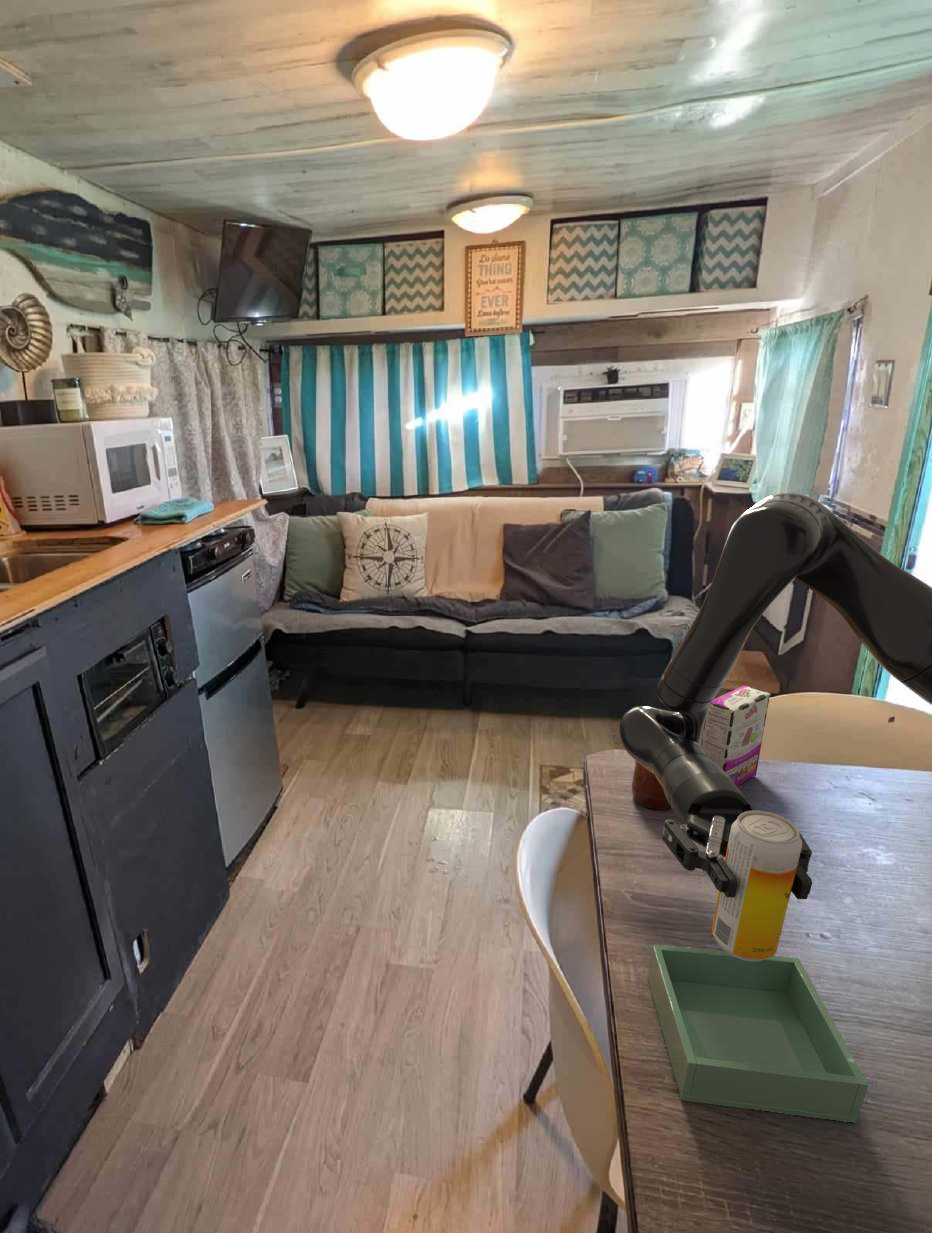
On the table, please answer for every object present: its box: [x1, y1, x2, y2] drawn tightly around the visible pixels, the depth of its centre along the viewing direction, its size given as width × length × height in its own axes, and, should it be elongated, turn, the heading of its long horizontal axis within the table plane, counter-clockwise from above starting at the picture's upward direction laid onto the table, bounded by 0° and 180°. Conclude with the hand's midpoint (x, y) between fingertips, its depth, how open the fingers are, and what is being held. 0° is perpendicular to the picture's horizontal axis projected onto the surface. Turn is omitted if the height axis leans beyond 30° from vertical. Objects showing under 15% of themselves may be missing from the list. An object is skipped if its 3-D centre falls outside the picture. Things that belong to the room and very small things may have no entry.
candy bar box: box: [701, 685, 771, 787], centre depth 119 cm, size 11×5×16 cm, turn 122°
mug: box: [631, 759, 672, 810], centre depth 115 cm, size 12×9×10 cm
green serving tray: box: [647, 944, 869, 1124], centre depth 73 cm, size 16×16×5 cm
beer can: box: [711, 810, 802, 962], centre depth 70 cm, size 6×6×15 cm
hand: (768, 891), depth 67 cm, fingers closed on beer can, 6 cm apart
